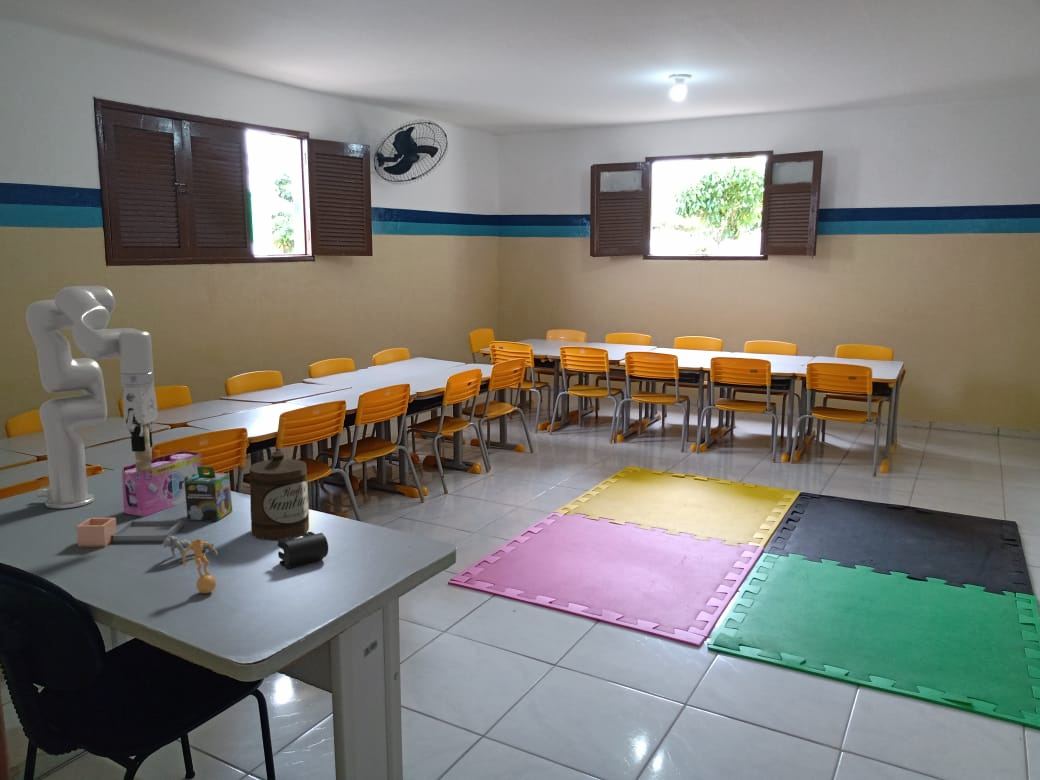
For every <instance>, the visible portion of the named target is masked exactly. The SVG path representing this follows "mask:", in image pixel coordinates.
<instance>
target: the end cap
mask: <svg viewBox="0 0 1040 780" xmlns="http://www.w3.org/2000/svg"><path fill="white" fill-rule="evenodd" d="M300 536H301V537H299V538H298V537H297V538H291V537H286V538H282V539H279V540H277V547H278V548H280V549H282V551H283V552H282V551H278V553H277V555H278V558H279V559H281V560H280V561H279V565H280V566H282V567H283V568H285V569H291V568H292V569H293V568H295V567H299V566H302V565H304V566H305V565H306V564H311V563H315V562H318V561H321V560H323V559H325V558H326V557H327V555H328V553H329V543H328V539H327V536H326V535H325V534H324V533H323V532H318V533H314V532H312V531H307V532H306V533H303V534H301V535H300Z"/></svg>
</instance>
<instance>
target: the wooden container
mask: <svg viewBox="0 0 1040 780" xmlns="http://www.w3.org/2000/svg"><path fill="white" fill-rule="evenodd" d="M284 457H285V453H284V452H283V451H280V450H275V451H273V452H272V453H271V455H270V458H271V459H268V460H262V461H259V462H256V463H253V464H252V465H250V467H249V486H250V487H249V491H250V497H249V498H250V520H251V521H250V526H251V527H250V529H251V535H252V536H254V537H255V538H256V539H260V540H267V541H278V540H279V539H282V538H286V537H291V538H293V539H295V538H298V537H299V536H301V534H303V533H307V532H309V529H310V528H309V527H310V515H309V514H310V512H309V507H310V506H309V491H308V475H307V473H308V470H307V469H308V468H307V466H308V465H307V463H306V462H305V461H303V460H299V459H294V458H293V459H292V458H291V459H290V458H284Z"/></svg>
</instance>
